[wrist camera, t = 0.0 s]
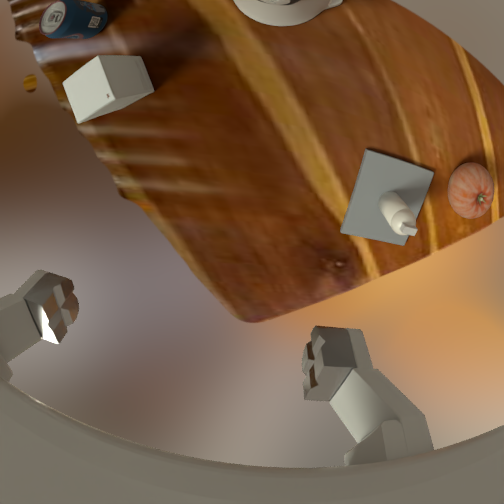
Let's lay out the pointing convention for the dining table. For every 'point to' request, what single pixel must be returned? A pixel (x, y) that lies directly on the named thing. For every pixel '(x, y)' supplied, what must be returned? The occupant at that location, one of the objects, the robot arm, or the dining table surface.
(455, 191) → the tomato
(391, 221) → the white rounded bottle
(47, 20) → the soda can
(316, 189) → the dining table surface
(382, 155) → the grey pad
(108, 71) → the supplement box
